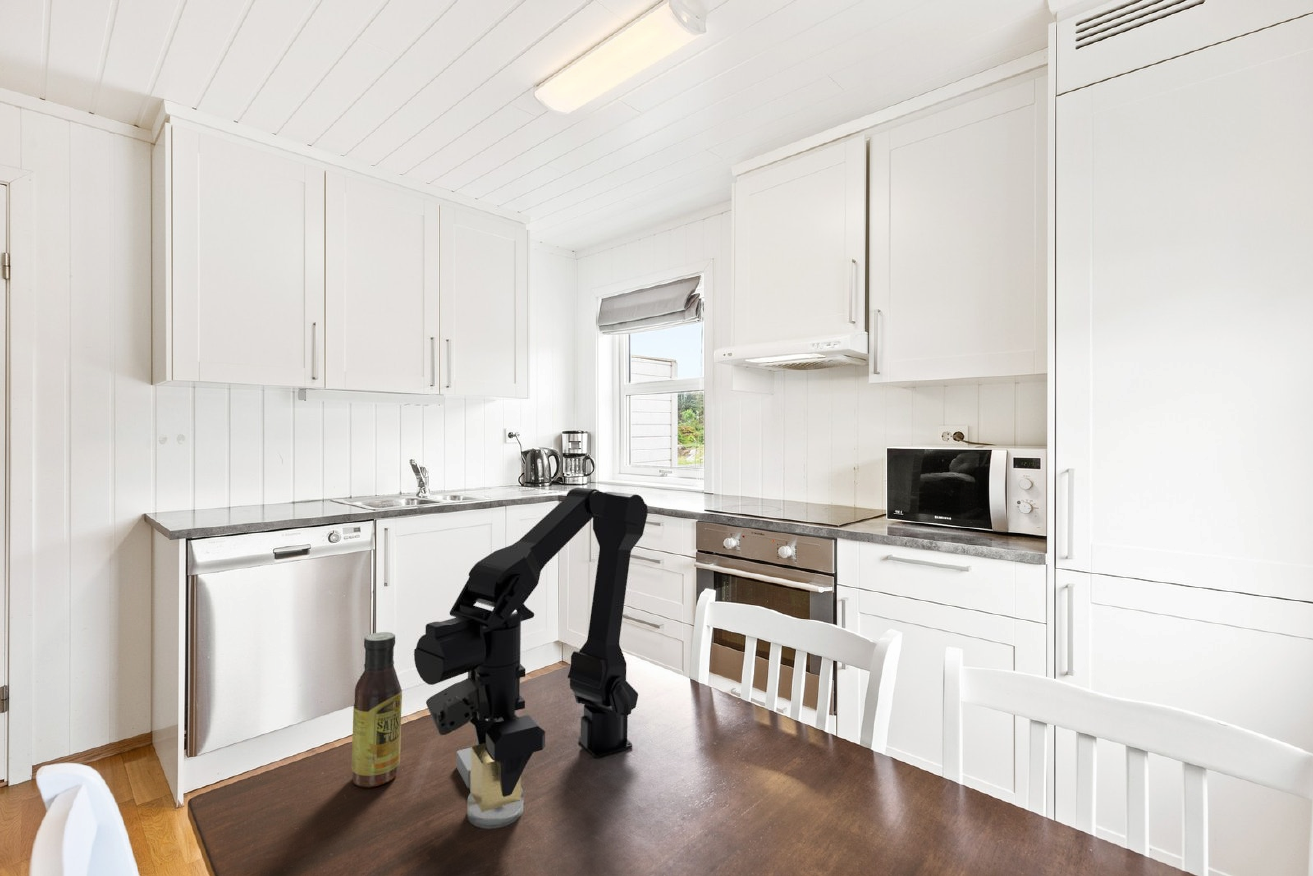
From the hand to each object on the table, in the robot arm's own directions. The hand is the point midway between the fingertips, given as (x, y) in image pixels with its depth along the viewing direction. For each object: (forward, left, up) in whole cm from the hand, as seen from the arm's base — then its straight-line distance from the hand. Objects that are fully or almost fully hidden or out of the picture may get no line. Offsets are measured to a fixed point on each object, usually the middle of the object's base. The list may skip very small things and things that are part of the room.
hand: (496, 778), depth 81 cm
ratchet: (0, -5, -4) cm, 6 cm away
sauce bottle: (+12, -16, -4) cm, 21 cm away
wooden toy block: (0, 0, -2) cm, 2 cm away
